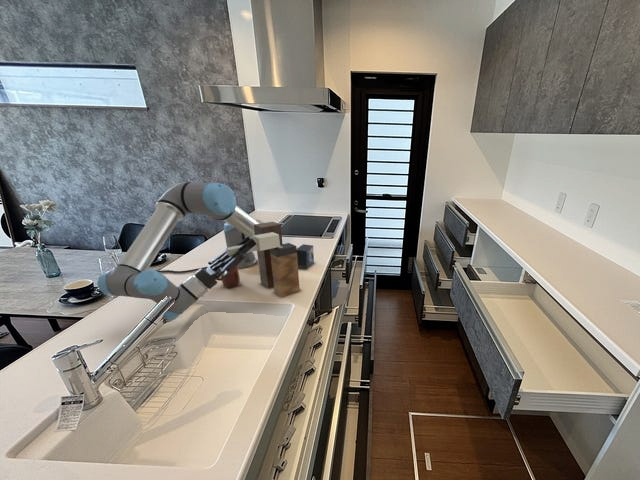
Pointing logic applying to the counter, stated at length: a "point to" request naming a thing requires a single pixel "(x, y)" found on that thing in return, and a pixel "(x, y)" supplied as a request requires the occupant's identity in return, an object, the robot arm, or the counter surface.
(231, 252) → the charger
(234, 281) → the mug
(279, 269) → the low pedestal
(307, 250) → the small box
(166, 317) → the robot arm
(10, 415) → the counter surface
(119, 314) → the counter surface
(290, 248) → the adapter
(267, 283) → the tall pedestal
